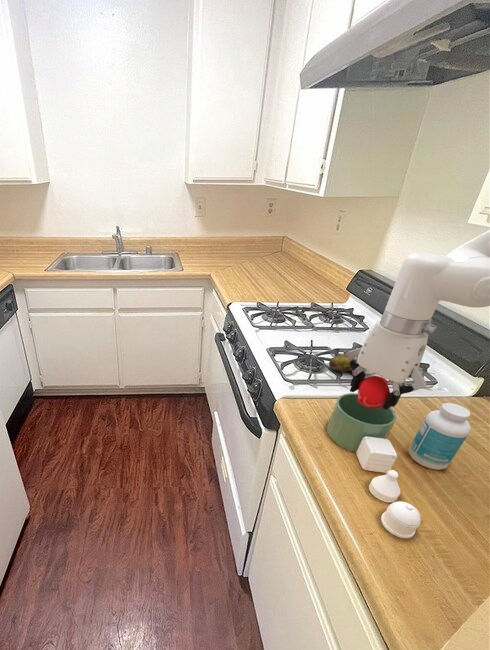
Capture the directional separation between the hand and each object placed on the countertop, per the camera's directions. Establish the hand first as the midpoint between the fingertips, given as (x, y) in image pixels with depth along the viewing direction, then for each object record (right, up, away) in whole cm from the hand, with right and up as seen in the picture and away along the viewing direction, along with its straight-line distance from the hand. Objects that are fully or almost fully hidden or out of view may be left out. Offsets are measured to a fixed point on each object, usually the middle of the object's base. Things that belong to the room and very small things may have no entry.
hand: (370, 397), depth 75 cm
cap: (0, -1, +1) cm, 1 cm away
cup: (0, -9, +6) cm, 11 cm away
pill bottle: (+12, -14, 0) cm, 18 cm away
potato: (+12, +7, +31) cm, 34 cm away
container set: (-2, -18, -8) cm, 20 cm away
